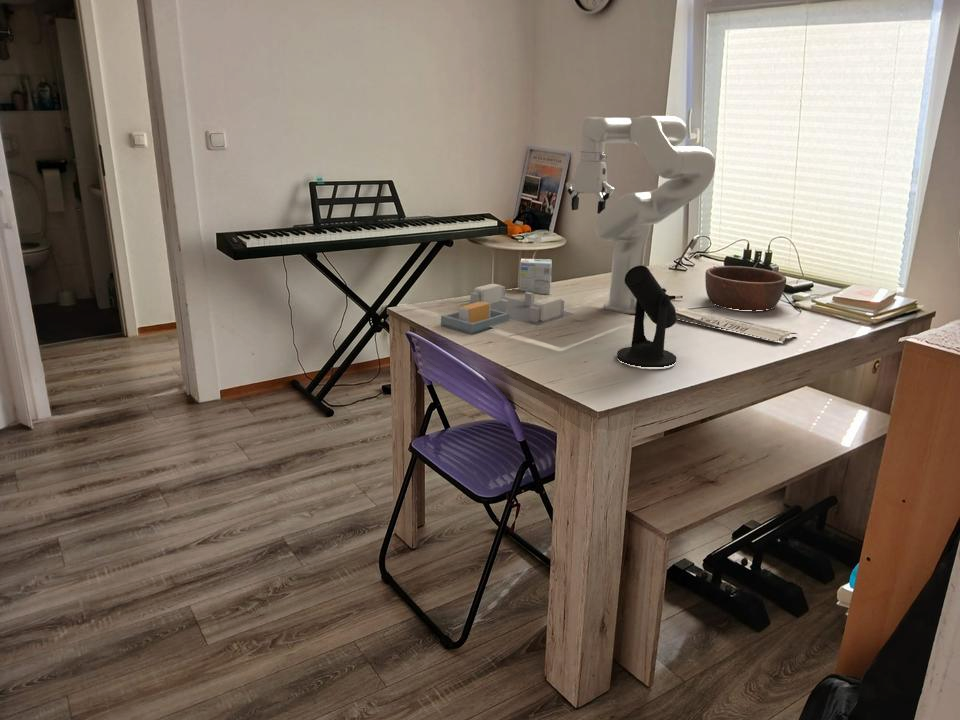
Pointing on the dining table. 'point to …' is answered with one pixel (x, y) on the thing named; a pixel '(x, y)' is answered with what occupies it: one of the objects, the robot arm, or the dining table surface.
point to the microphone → (658, 311)
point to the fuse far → (489, 293)
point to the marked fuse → (475, 312)
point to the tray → (476, 327)
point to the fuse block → (519, 308)
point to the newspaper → (732, 325)
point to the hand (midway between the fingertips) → (587, 211)
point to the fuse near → (548, 307)
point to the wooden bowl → (744, 287)
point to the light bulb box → (535, 275)
